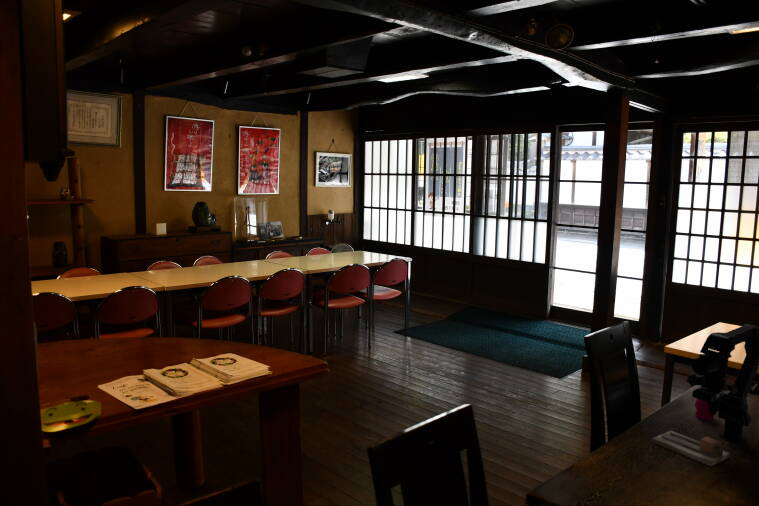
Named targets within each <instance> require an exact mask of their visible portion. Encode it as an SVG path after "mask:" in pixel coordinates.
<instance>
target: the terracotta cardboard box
mask: <svg viewBox="0 0 759 506" xmlns="http://www.w3.org/2000/svg"><path fill="white" fill-rule="evenodd" d="M699 441H700V446H699V450H701V451H704V452H707V453H709V454H712V448H714V447H716V446H719V445H720V440H717V439H715V438H712V437H709V436H705V437H702V438H700V439H699Z"/></svg>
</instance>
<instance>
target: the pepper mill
mask: <svg viewBox="0 0 759 506" xmlns="http://www.w3.org/2000/svg"><path fill="white" fill-rule="evenodd" d="M699 386H700V388H703V387H702V385H699ZM704 389H707V388H704ZM707 390H708V389H707ZM694 407H695V409H696V410H695V414H694V416H695V417H696V418H697V419H700V420H704V421H713V420H714V419H715V415H714V416H712V415H710V411H709V407H708V403H707V402H706V401H703V400H700V399H697V398H696V400H695V402H694Z"/></svg>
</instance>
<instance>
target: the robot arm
mask: <svg viewBox="0 0 759 506" xmlns="http://www.w3.org/2000/svg"><path fill="white" fill-rule="evenodd" d="M742 343H744V344H743V348H744V352H745V357H744V360H743V362H742V364H741V366H740V369H739V371H738V374H737V377H736V378H735V382H734V383H731V382H729V381H727V379H730V375H729V374H728V366H729V359H731V358H732V357H733V356H732V354H731V353H732V352H734V351H735V349H736V346H737V345H740V344H742ZM699 353H700V354H698V357H697V358H695V359H693V361H692V363H691V368H692V370H693V371H694V374H692V373H691V374H688V376H687V380H686V383H688V385H689V386H690V387H694V386H700V385H702V387H703V388H701V387H698V388H695V389H694V390H692V393H691V397H692V398H694V399H696V400H697V399H700V400H703V401H706V402H707V403H708V407H709V411H710V415H712V416H714V417H715V416H716V414H717V413H718V418H719V419H721V420H724V423H723V426H724V427H723V432H722V433H719V434H718V436H719V437H721V438H723V439H726V440H728V441H731V442H735V443H740V442H743V441H744V440H747V437H746V436H743V432H744V427H749V426H750V425H751V423H752V416H751V415H750V413H749V403H748V400H747V398H748V395H749V392H750V389H751V387H752V384H753V382H754V380H755V377H756V376H757V373H758V370H759V326H758V325H754V324H749V323H744V324H743V325H742V326H739V327H737V328H735V329H732V330H729V331H727V332H720V331H718V332H717V331H716V332H712V333H710V334H709V335H708V336H707V337H706V340H705V341H704V344H703V345H702V346H701V349H700V350H699ZM704 388H707V389H708V390H707V389H704ZM726 391H729V392H728V393H725V392H726Z"/></svg>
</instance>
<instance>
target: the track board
mask: <svg viewBox="0 0 759 506" xmlns="http://www.w3.org/2000/svg"><path fill="white" fill-rule="evenodd" d="M651 443H653V444H654V445H657V444H658V446H660V447H663V448H665V449H667V450H670V451H673V452H674V451H675V452H674V453H677V454H679V453H680V454H679V455H682V456H684V455H685V457H687V458H689V457H690V458H689V459H692V460H693V461H696V460H697V462H699V461H700V462H699V463H701V462H702V464H703V465H707V466H709V467H712V466H714V465H717V464H718V463H721V462H723V461H724V460H727V459H729V458H730V457H731V453H730V452H728V451H726V450H724V445H722V444H719V445H718V446H716V447H714V448H712V454H709V453H707V452H704V451H701V450H699V446H700V440H698V439H695V438H691V437H689V436H686V435H684V434H681V433H678V432H675V431H673V430H669V431H667V432H664V433H662V434H659V435H657V436H654V437H651Z"/></svg>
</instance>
